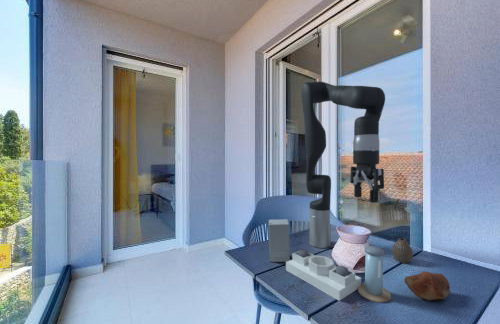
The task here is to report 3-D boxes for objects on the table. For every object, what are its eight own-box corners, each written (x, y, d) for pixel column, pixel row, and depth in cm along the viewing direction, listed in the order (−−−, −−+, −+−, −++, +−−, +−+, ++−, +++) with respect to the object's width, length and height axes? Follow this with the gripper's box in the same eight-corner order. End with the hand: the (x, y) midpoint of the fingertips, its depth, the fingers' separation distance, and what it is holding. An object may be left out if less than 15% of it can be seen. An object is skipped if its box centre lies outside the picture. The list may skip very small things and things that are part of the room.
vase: (393, 263, 89) (394, 241, 89) (390, 255, 96) (390, 235, 95) (414, 266, 87) (415, 243, 86) (409, 258, 93) (410, 237, 93)
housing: (307, 261, 91) (307, 246, 91) (361, 286, 73) (361, 268, 73) (285, 270, 84) (285, 254, 84) (339, 300, 66) (339, 280, 66)
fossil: (405, 289, 66) (414, 256, 69) (393, 287, 74) (401, 257, 77) (456, 315, 62) (463, 278, 65) (438, 310, 69) (444, 277, 73)
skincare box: (288, 255, 96) (289, 218, 96) (290, 263, 89) (290, 223, 89) (268, 254, 97) (268, 218, 97) (268, 262, 90) (268, 223, 89)
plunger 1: (302, 256, 88) (302, 248, 88) (310, 259, 85) (310, 251, 85) (296, 258, 86) (296, 250, 85) (303, 262, 83) (303, 254, 83)
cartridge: (360, 286, 72) (361, 246, 72) (376, 285, 73) (376, 245, 73) (370, 296, 67) (371, 253, 67) (387, 295, 68) (388, 252, 67)
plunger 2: (340, 273, 75) (340, 264, 75) (350, 278, 72) (350, 269, 72) (333, 277, 73) (333, 267, 72) (343, 282, 70) (344, 272, 70)
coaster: (366, 281, 76) (366, 279, 76) (396, 295, 69) (396, 293, 69) (351, 291, 71) (351, 289, 71) (382, 306, 64) (382, 304, 64)
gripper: (343, 150, 80) (343, 195, 80) (368, 148, 66) (367, 204, 66) (363, 150, 81) (363, 195, 81) (392, 148, 66) (392, 204, 67)
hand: (365, 199), depth 74 cm, fingers open, 8 cm apart
